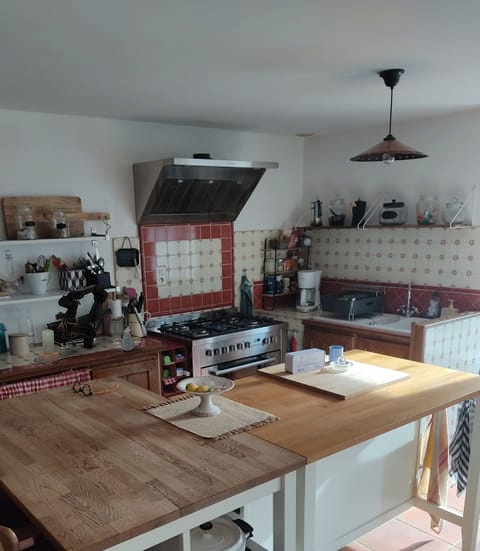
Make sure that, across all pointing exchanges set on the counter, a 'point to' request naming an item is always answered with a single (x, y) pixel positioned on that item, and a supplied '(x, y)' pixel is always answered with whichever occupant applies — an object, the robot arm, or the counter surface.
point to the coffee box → (119, 327)
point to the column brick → (48, 342)
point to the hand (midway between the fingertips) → (65, 336)
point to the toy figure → (127, 341)
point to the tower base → (48, 358)
